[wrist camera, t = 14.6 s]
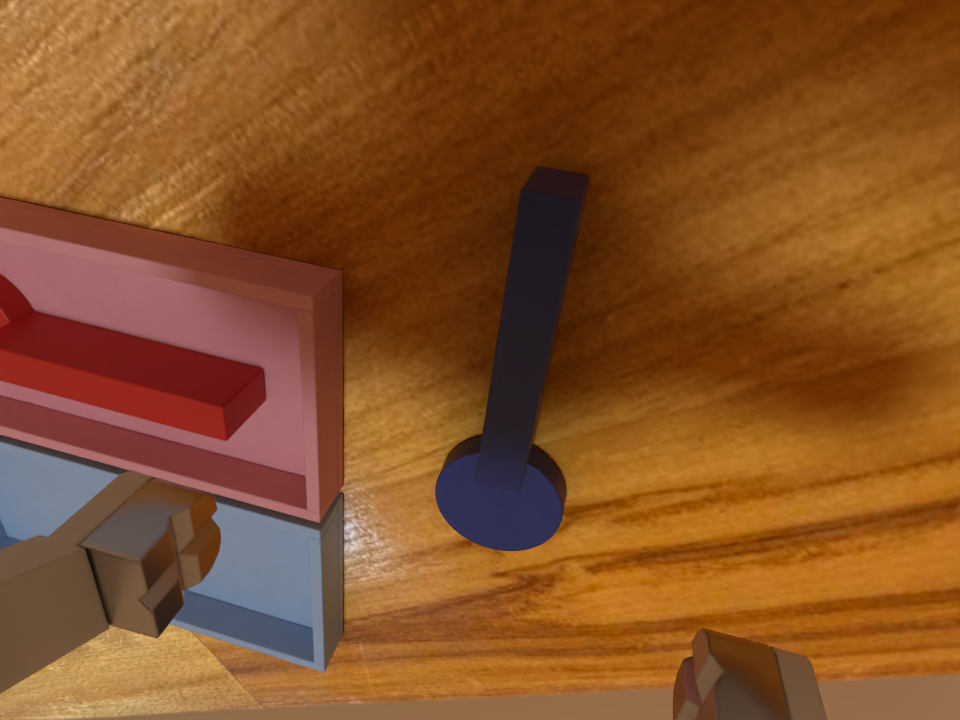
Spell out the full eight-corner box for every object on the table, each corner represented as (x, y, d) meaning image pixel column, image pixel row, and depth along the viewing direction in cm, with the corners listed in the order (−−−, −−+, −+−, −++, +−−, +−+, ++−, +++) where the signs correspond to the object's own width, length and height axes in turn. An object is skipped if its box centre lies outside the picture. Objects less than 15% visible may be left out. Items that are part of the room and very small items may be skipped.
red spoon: (261, 329, 20) (217, 366, 18) (268, 434, 22) (231, 477, 20) (-82, 246, 21) (-158, 272, 19) (-41, 352, 24) (-105, 384, 22)
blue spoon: (480, 154, 16) (455, 177, 14) (650, 185, 15) (650, 213, 13) (438, 513, 23) (418, 562, 21) (553, 543, 22) (544, 598, 20)
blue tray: (-52, 387, 26) (-100, 414, 24) (343, 493, 23) (320, 531, 22) (10, 532, 30) (-27, 563, 29) (343, 633, 28) (324, 673, 26)
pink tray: (-147, 165, 21) (-216, 179, 19) (343, 270, 18) (312, 297, 17) (-55, 379, 26) (-104, 406, 24) (343, 485, 23) (319, 523, 21)
